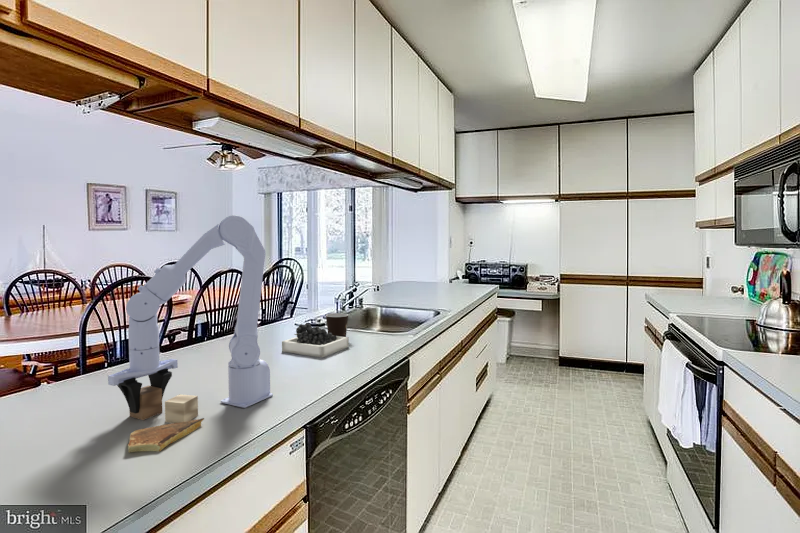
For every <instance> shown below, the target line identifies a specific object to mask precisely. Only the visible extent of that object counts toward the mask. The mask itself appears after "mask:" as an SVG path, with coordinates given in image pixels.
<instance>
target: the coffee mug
mask: <svg viewBox="0 0 800 533" xmlns="http://www.w3.org/2000/svg"><path fill="white" fill-rule="evenodd" d="M325 320H326V321H325V322H326V327H327V328H326V329H327V330H326V331H327V333H332V335H333V336H341V337H347V333H348V332H347V331H348V330H347V329H348V321H349V314H348V313H341V312H339V313H338V312H337V313H336V312H335V313H327V314H325Z"/></svg>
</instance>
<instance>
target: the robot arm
mask: <svg viewBox="0 0 800 533" xmlns="http://www.w3.org/2000/svg"><path fill="white" fill-rule="evenodd" d="M224 241H225V242H226V243H227V244H229V245H231V246H233V247H234V248H235V250H236V251H237V252H238V253H239V254H240V255H241V256H242V257H243V265H242V274H241V282H240V292H239V298H238V308H237V309H238V310H237V318H236V324H235V328H234V333H233V335H232V337H231V339H230V341H229V344H228V350H229V352H230V356H231V359H230V360H229V361H228V367H227V368H228V373H227V375H228V379H227V380H228V396H227V397H226V398H223V399H220V404H221V403H222V404H225V405H230V406H234V407H237V408H242V409H245V408H248V407H250V406H253V405H254V404H257V403H260V402H262V401H263V400H264V401H265V399H268V398H271V397H273V395H274V394H273V392H271V368H270V366H269V363H267V361H266V360H264V359H260V355H261V348H260V346H259V342H258V337H259V334H258V333H259V332H258V320H259V313H260V303H261V297H262V296H261V294H262V287H263V278H264V270H265V260H266V250H265V248H264V245H263V243H262V242H261V240H260V238H259V236H258V234H257V232H256V231H255V227H254V226H253V225H252V224H251V223H250V222H249V221H248V220H247V219H246V218H244V217H243V216H242V215H241V216H240V215H237V214H231V215H229V216H226V217H225V218H224V219H222V220H221V221H220V222H219V223H217V224H216V225H215V226H214V227H212V228H211V229H209V230H207V231H206V232H204V233H203V234H202V236H200V238H199V239H197V241H195V243H194V244H193V245H192V246H191V247H190V248H189V249H188V250H187V251H186V252H185V253H184V254H183V255H182V256H181V257H180V258H179V259H178V260H177V261H176V262H175V263H174V264H165V265H163V266H162V267H157V268H156V269H155V270H154V271H153V273H154V275H153V276H152V277H151V278H150V279H149V280H148V281H146V282H145V284H144V285H140V286H139V287H138V288H137V290H138V291H139V292H137V293H135V294H132V296H131V297H130V298H129V299H128V301H127V303H126V304H125V305H126V307H125V309H126V313H127V315H128V316H129V317H128V325H129V327H128V329H127V330H128V332H127V334H128V361H129V362H128V363H129V366H128V368H125V369H123V370H121V371H118V372H115V373H112V374H108V375H107V384H108V385H109V386H113V387H114V386H115V387H116V386H117V388H119V390H120V391H121V392H122V395H123V396H124V398H125V400H126V402H127V405H128V409H130V411H129V413H130V412H132V413H139V409H140V391H141V388H142V387H143V383H142V382H139V381H138V380H137V379H139V378H143V377H146V376H148V379H149V383H150V386H153V387H157V388H161V389H162V399H163V398H164V395H165V391H166V388H167V385H168V383H169V382H170V380H171V378H172V377H173V372H172V371H169V370H171V369H173V370H174V369H177V368H178V367H179V366H178V359H177V358H176V359H175V358H170V359H169V358H168V359H165V360H160V327H159V324H158V311H159V309H160V305H163V304H166V303H167V302H168V301H169V300H170V299H171V298H172V297H173V296H174V295H175V294H176V293H177V292H178V291H179V290H180V289H181V288H182V287H183V286H184V285H185V284H186V282H187V281H186V280H187V278H186V274H187V273H188V272H189V271H191V269H192V268H193V267H194V266H196V264H197V263H199V261H200V260H202V259H203V258H204V257H205V256H206V255H207V254H208V253H209V252H210V251H211V250H213V249H216V248H219V247H223V246H225V245H226V244H225V243H224Z"/></svg>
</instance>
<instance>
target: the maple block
mask: <svg viewBox="0 0 800 533" xmlns="http://www.w3.org/2000/svg"><path fill="white" fill-rule="evenodd" d="M198 416H199V397H198V395H191V394H177V395H175V396H173V397H171V398H170V399H168V400H165V401H164V417H165V418H164V419H165V420H164V422H165V423H168V424H172V423H179V422H186V421H191V420H194V419H195V418H196V417H198Z"/></svg>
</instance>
